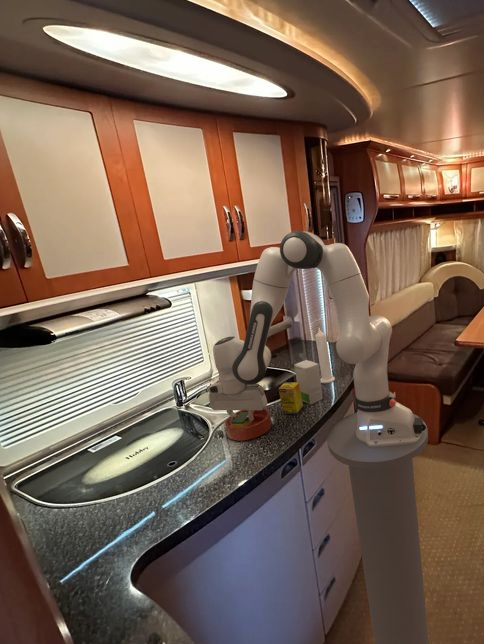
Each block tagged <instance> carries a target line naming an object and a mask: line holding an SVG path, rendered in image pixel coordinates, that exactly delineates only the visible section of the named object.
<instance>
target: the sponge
mask: <svg viewBox="0 0 484 644" xmlns="http://www.w3.org/2000/svg"><path fill="white" fill-rule="evenodd" d="M248 415H249V413H248V412H241V413H240V414H239V415H238V416H237V417H236V418H235V419H233V420H232V421H231V424H232V428H244V427H247V426H248V425H249V424H250V423H251V422H252V421H253V420H254V417H253V420H252V421H247V418H246V417H247V416H248Z"/></svg>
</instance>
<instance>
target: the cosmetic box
mask: <svg viewBox="0 0 484 644" xmlns="http://www.w3.org/2000/svg"><path fill="white" fill-rule="evenodd" d="M293 366H294V374H295V379H296V383H297V382H299V386H300V392H301V398H302V402H304V403H306V404H309V405H313V404H316V403H317V402H320V401H321V400H323V399H324V397H323V389H322V383H321V381H320V379H321V372H320V364H319V363H317V362H314V361H312V360H308V359H305V360H302V361H300V362H297V363H295V364H294V365H293Z"/></svg>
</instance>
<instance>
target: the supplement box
mask: <svg viewBox="0 0 484 644" xmlns="http://www.w3.org/2000/svg"><path fill="white" fill-rule="evenodd" d="M278 393H279V399H280V404H281V409H282V414H283V415H297V416H298V415H299V414H300V412H301V411H302V410H303V409H304V405H303V401H302V398H301V392H300V386H299V382H297V381H296V382H288V381H286V382H284V383H282V384H281V385H280V387H278Z"/></svg>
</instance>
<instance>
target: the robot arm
mask: <svg viewBox="0 0 484 644" xmlns="http://www.w3.org/2000/svg"><path fill="white" fill-rule="evenodd" d="M311 269H318V270H319V271H320V273H321V274H322V275H323V278H324V281H325V284H326V286H327V289H328V292H329V295H330V297H331V300H332V303H333V306H334V309H335V314H336V320H337V334H338V335H337V339H336V343H335V349H336V353H337V355H338V357H339V358H340V359H341V360H342V361H343V362H345V363H347V364H349V365H355V366H354V369H353V373H352V378H353V386H354V393H355V395H354V404H355V405H354V407H355V411H356V412H357V430H356V436H357V438H358V439H359V440H361V441H363V442H365V443H366V444H367V445H368V446H369V447H383V446H394V445H405V444H415V443H417V442H418V441H419V440H420V439H421V437H422V433H423V431H424V430H425V429H426V426H427V425H426V426H425V425H424V424H423V421H424V420H423V417H420V418H414V415H413V414H414V413H413V411H412V410H411V408H409V407H407V406H405V405H403V404H401V403H400V402H398V401H397V397H396V391H394V392H392V391H390V387H389V378H388V362H389V352H390V340H391V338H392V333H393V327H392V324H391V322H390V321H389V319H387V318H386V317H385V316H383V315H379V314H377V315H370V310H369V304H370V294H369V291H368V289H367V286H366V283H365V281H364V277H363V276H362V273H361V269H360V267H359V265H358V263H357V261H356V259H355V256H354V255H353V253H352V251H351V250H350V248H349V246H348V245H346V244H345V243H342V242H335V243H331V244H327V243H326V242H325V240H324V239H322V238H321V237H320V236H319V235H317V234H315V233H312V232H311V231H304V230H293V231H291V232H289V233H287V234H286V235H284V237H283V238H282V240H281V241H280V245H279V246H271V247H267V248H265V249H264V250H263V251H262V252H261V255H260V257H259V260H258V262H257V265H256V267H255V272H254V277H253V281H252V288H251V300H250V311H249V320H248V325H247V329H246V333H245V338H244V340H242V339H240V338H238V337H236V336H234V335H233V336H226V337H224V338H221V339H219V340H218V341H216V342H215V344H214V345H213V346H212V347H213V348H212V352H213V361H214V366H215V368H216V370H217V372H218V380H216V381H215V382H213V383H211V384H210V385H209V386H208V387H207V393H209V394H208V402H209V406H210V408H211V409H212V410H213V411H226V413H227V415H228V417H231V419H232V420H233V419H235V418H236V417H237V416H238V415H235V413H236V412H234V411H241V410H247V411H248V413H249V415H248V416H247V417H246V418H247V421H252V420H253V412H254V410H263V409H264V408H265V409H266V407H267V406H268V399H267V397H266V394H265V390H264V386H262V385H261V384H259V383H260V382H262V380H263V379H264V378H265V376H266V372H267V369H268V367H269V365H270V362H271V360H272V352H271V349H270V348H269V347H268V346H267V345H266V344H267V341H268V336H269V332H270V329H271V326H272V324H273V321H274V320H275V318H276V317H277V316H278V314H279V312H280V310H282V308H283V305H284V303H285V300H286V298H287V296H288V293H289V288H290V283H291V279H292V276H293V274H294V272H295V271H296V270H311Z"/></svg>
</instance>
